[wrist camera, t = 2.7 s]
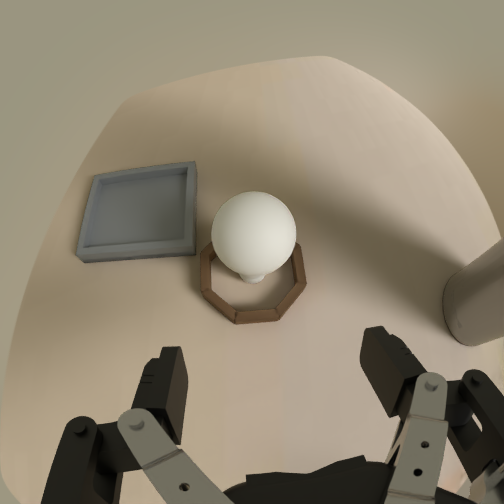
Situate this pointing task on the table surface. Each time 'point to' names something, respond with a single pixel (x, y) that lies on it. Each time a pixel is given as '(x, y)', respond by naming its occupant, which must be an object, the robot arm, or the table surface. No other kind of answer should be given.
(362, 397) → the table surface
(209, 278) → the socket ring
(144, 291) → the table surface
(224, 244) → the lightbulb
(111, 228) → the tray
